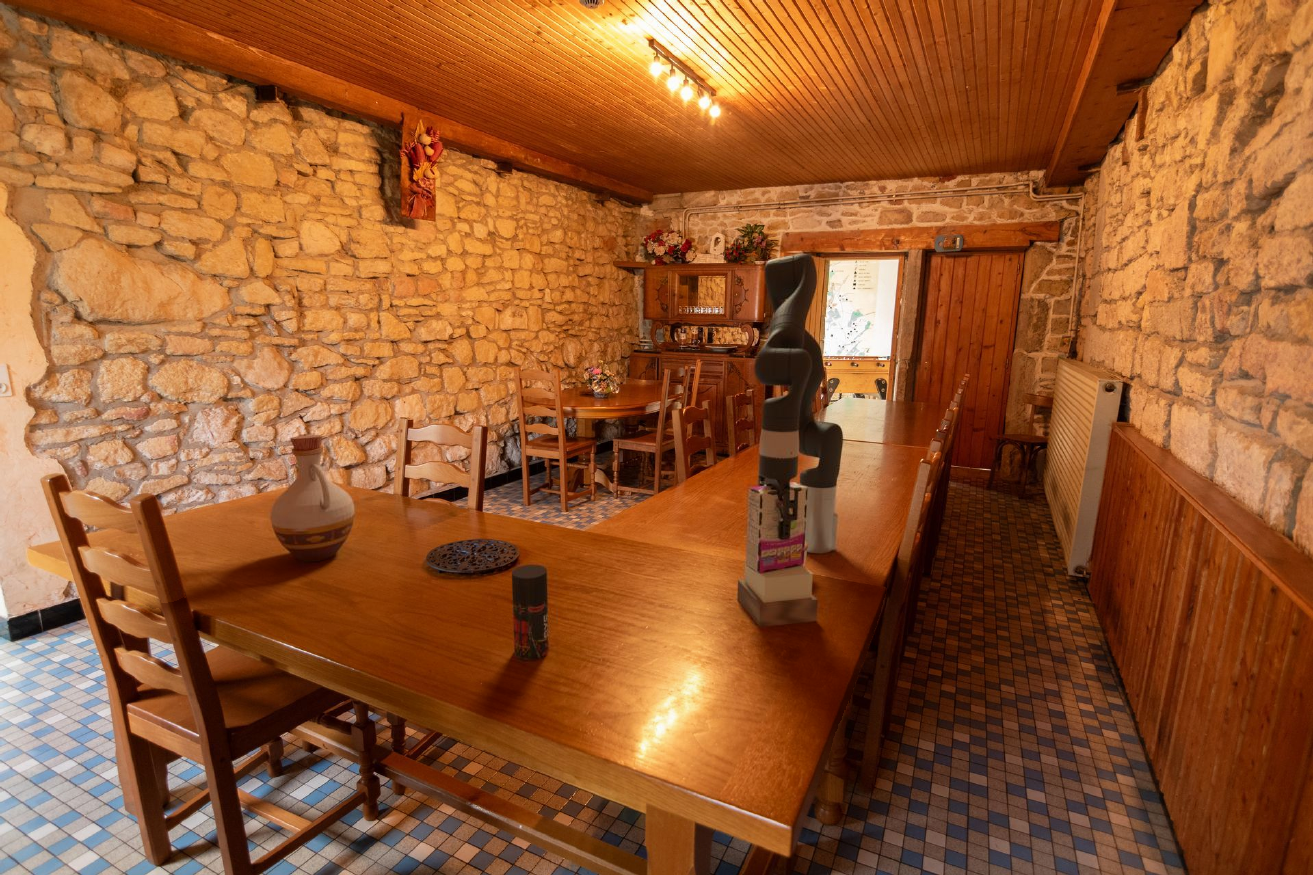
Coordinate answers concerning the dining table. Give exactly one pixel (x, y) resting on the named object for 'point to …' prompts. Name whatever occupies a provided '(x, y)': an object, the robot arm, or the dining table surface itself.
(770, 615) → the walnut slab
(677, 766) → the dining table surface
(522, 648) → the deodorant
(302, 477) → the jug
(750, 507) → the candy bar box
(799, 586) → the cream square block
